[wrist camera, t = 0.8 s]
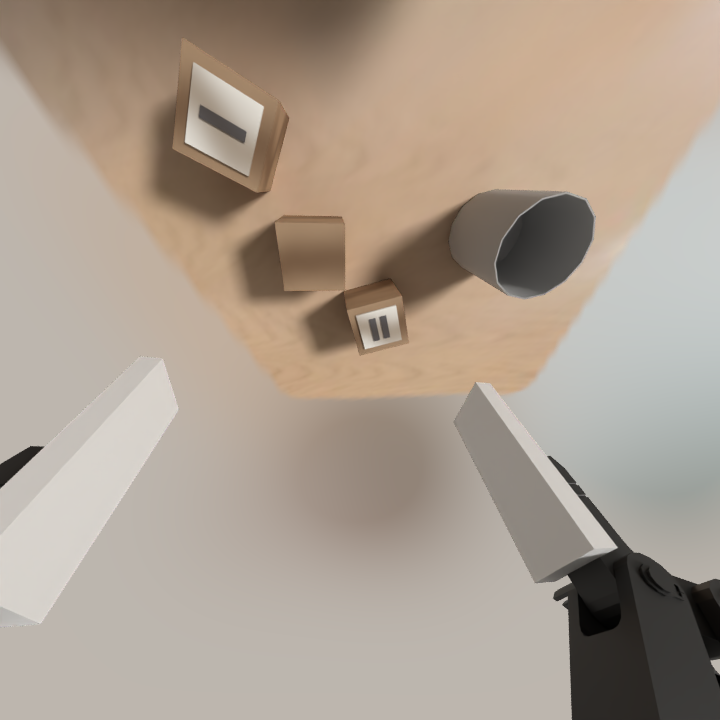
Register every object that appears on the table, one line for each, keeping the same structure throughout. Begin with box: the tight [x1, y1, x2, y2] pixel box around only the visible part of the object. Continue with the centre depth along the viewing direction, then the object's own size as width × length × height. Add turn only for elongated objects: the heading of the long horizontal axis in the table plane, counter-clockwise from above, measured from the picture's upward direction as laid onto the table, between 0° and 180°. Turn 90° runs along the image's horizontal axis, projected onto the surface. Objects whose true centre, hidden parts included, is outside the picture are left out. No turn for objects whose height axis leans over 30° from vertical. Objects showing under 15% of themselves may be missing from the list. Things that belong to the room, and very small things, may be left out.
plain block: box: [275, 215, 345, 291], centre depth 26 cm, size 6×6×6 cm
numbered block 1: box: [172, 37, 289, 193], centre depth 20 cm, size 6×6×6 cm
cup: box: [449, 189, 596, 299], centre depth 26 cm, size 8×8×10 cm
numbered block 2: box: [344, 279, 409, 355], centre depth 31 cm, size 6×6×6 cm
